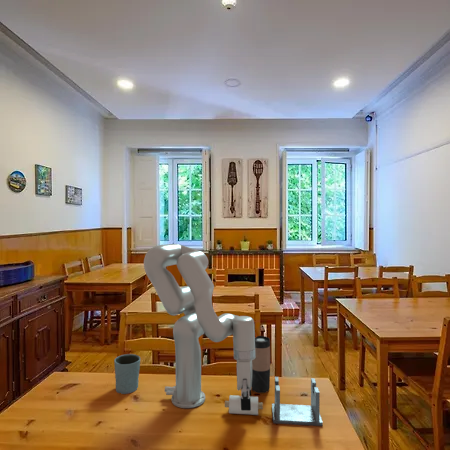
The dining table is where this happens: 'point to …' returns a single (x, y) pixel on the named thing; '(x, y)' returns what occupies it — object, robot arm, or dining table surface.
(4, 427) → the dining table surface
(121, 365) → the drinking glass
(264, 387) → the travel mug
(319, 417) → the roll holder
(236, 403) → the paper roll
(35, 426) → the dining table surface
